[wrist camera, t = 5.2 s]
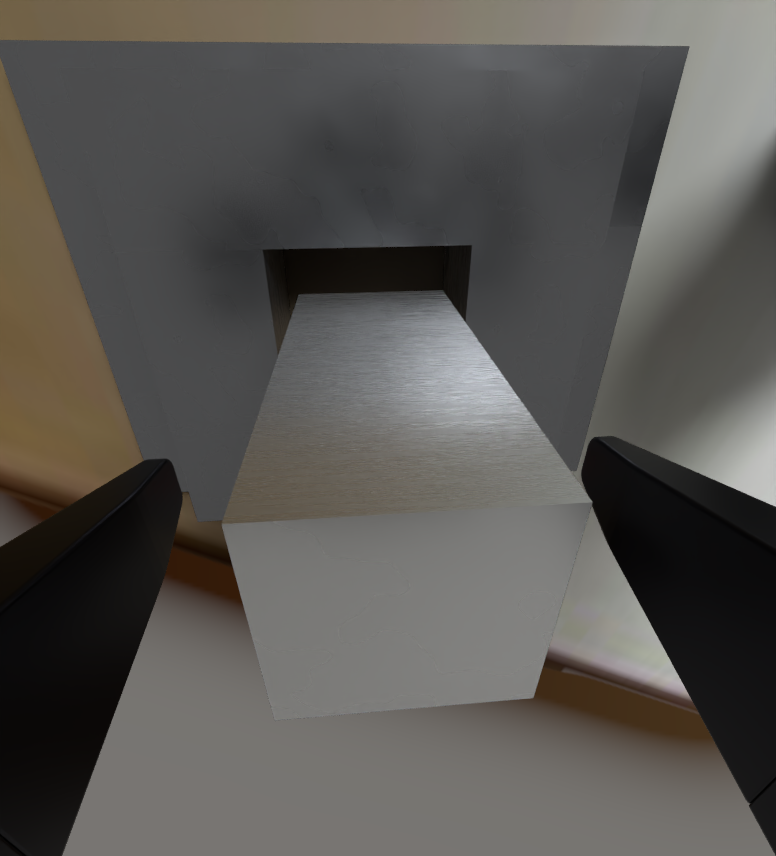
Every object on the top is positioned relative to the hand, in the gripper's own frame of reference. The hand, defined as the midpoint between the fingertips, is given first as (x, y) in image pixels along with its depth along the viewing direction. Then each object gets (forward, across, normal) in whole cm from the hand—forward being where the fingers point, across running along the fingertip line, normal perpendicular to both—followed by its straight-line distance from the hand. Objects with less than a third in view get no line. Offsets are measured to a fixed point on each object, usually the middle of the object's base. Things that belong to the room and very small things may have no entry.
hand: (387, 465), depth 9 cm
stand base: (+10, 0, 0) cm, 10 cm away
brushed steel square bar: (+5, 0, 0) cm, 5 cm away
